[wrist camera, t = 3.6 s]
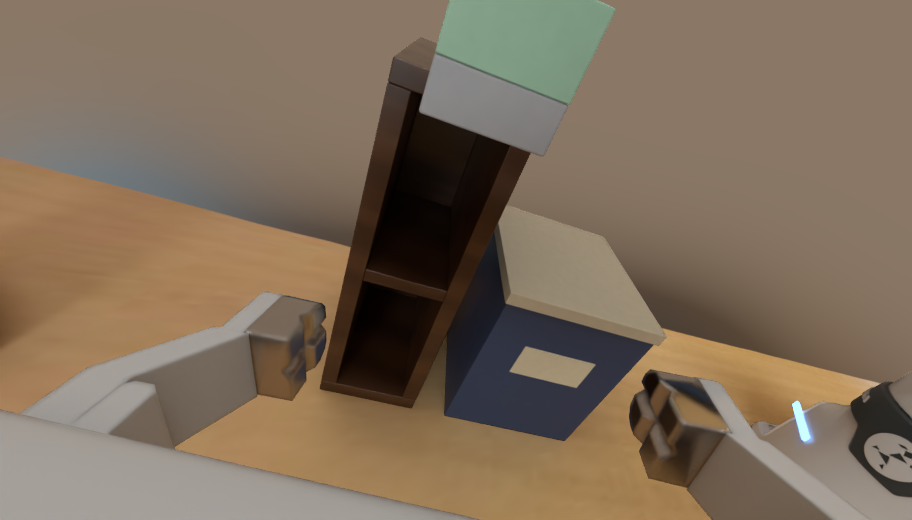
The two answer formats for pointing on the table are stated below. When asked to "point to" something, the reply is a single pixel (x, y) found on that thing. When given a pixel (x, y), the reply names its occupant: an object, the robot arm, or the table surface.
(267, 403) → the table surface
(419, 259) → the shelf
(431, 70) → the green box
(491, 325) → the archive box
